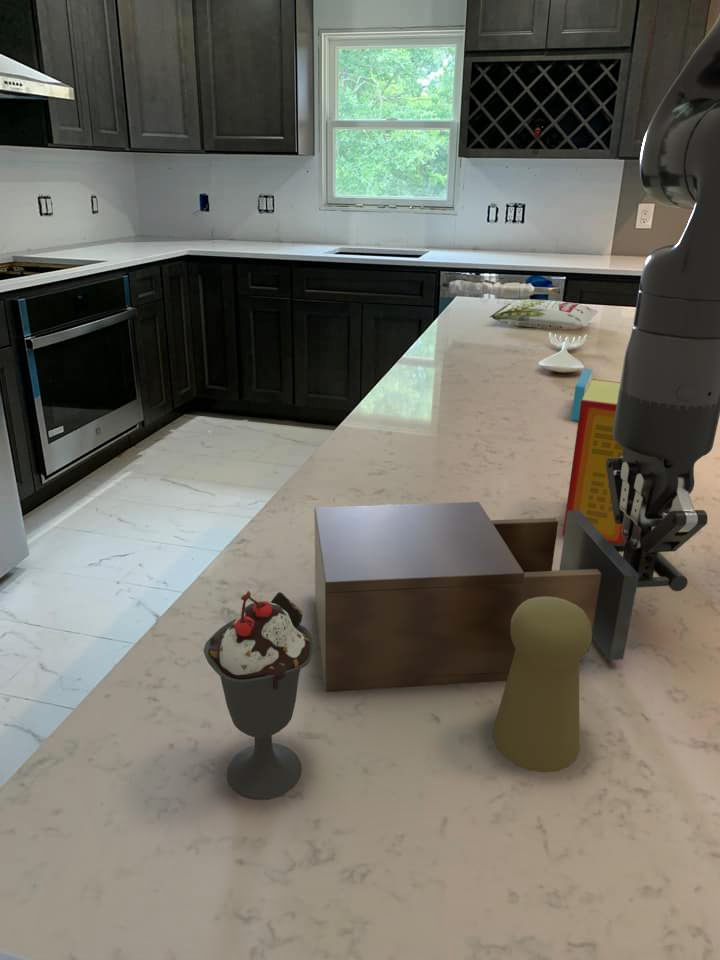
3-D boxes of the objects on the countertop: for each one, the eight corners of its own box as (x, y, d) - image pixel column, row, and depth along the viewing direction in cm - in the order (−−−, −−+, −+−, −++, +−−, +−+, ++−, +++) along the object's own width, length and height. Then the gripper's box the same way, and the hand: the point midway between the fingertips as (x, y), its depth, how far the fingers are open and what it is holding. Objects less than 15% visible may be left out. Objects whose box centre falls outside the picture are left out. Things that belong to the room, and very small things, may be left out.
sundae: (228, 826, 45) (213, 617, 39) (204, 751, 50) (188, 559, 44) (329, 793, 47) (329, 592, 41) (295, 726, 53) (291, 541, 47)
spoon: (586, 347, 171) (588, 332, 170) (582, 380, 143) (584, 363, 142) (547, 344, 174) (548, 329, 172) (535, 376, 145) (537, 359, 144)
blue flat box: (579, 402, 130) (584, 368, 127) (588, 403, 129) (593, 369, 127) (570, 421, 119) (575, 384, 117) (580, 422, 119) (585, 385, 116)
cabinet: (470, 595, 69) (478, 501, 66) (512, 681, 58) (525, 573, 54) (315, 602, 68) (314, 507, 64) (325, 693, 56) (325, 582, 52)
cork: (484, 759, 50) (499, 623, 46) (500, 704, 55) (514, 577, 51) (575, 783, 48) (599, 644, 44) (582, 723, 53) (604, 594, 49)
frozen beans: (510, 292, 207) (601, 300, 197) (508, 313, 210) (598, 321, 200) (489, 305, 190) (587, 314, 180) (487, 328, 192) (584, 337, 183)
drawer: (626, 582, 70) (639, 508, 67) (690, 655, 60) (709, 571, 57) (428, 592, 68) (433, 515, 65) (458, 669, 57) (466, 582, 54)
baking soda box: (575, 503, 89) (593, 376, 83) (631, 513, 87) (654, 383, 81) (562, 536, 81) (581, 397, 75) (623, 547, 79) (649, 405, 73)
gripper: (769, 412, 51) (718, 623, 58) (673, 366, 63) (639, 544, 70) (668, 414, 50) (627, 628, 57) (590, 367, 62) (564, 547, 69)
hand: (634, 581), depth 63 cm, fingers closed
